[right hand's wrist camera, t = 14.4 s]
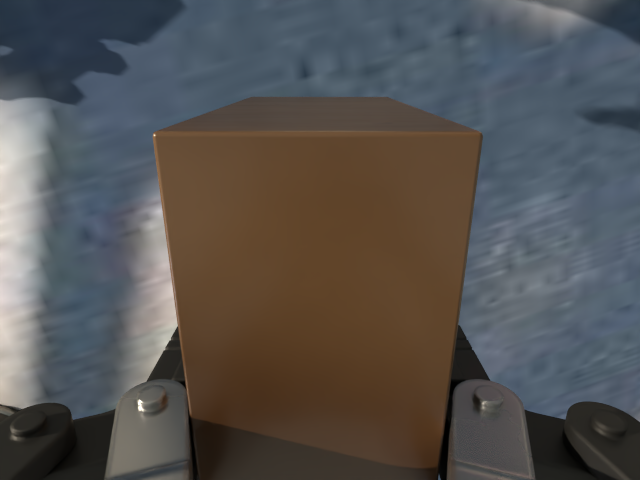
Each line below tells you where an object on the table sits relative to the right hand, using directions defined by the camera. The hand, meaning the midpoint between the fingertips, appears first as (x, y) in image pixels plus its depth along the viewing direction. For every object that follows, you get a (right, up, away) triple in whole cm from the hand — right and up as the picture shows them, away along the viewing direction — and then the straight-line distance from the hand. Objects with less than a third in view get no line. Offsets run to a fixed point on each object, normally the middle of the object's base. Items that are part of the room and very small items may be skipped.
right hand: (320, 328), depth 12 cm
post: (0, -28, +15) cm, 32 cm away
